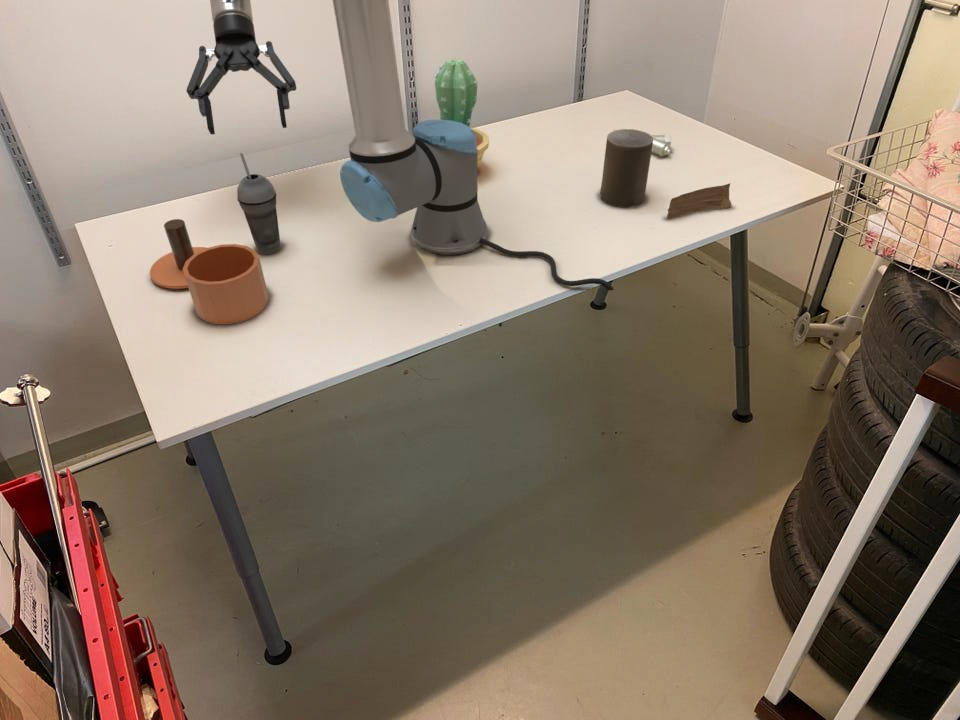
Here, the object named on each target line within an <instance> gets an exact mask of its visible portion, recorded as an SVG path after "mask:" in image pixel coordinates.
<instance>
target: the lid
mask: <svg viewBox="0 0 960 720" xmlns="http://www.w3.org/2000/svg"><path fill="white" fill-rule="evenodd" d="M163 227H164V231H165V234H166V236H167V240H168V242H169V246H170V249H171V252H168V253H167V254H164V255H163V256H160V257H159V258H158V259H157V260H156V261H154V262H153V264H152V265H151V267H150V269H149V276H150V279H151V281H152V282H153V283H155V285H157V286H160V287H162V288H167V289H175V290H176V289H180V290H181V289H189V288H188V285H187V282H186V279H185V276H184V273H183V267H184V264H185V262H186V261H187V260H188V259H189V258H190V257H191V256H193V255H194V254H195V253H197V252H199V251H202V250H204V249H206V248H207V247H204V246H193V245H192V241H191V239H190V235H189V233H188V229H187V226H186V222H185V221H184V219H180V218H175V219H171V220H167V221H166V222H165V223H163Z"/></svg>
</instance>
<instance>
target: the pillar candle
mask: <svg viewBox="0 0 960 720" xmlns="http://www.w3.org/2000/svg"><path fill="white" fill-rule="evenodd" d="M651 135H652V134H650V133H649V132H646V131H644V130H639V129H635V128H634V129H631V128H622V129H614V130H612V131H611V132H609V133H608V134H607V135H606V143H605V151H604V161H603V169H602V178H601V183H600V184H601V185H600V191H599V194H600V198H601V199H602V201H603V202H604V203H606V204H608V205H610V206H613V207H619V208H620V207H621V208H633V207H637V206H639V205H642V203H644V201H645V197H646V191H647V183H648V178H649V171H650V164H651V159H652V145H653V137H652V136H651Z"/></svg>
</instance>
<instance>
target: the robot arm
mask: <svg viewBox="0 0 960 720" xmlns="http://www.w3.org/2000/svg"><path fill="white" fill-rule="evenodd" d="M209 4H210V11H211V18H212V23H213V24H212V25H213V26H212V27H213V33H214V34H213V35H214V41H215V46H214V48H206V47H205V45H200V46H199V47H198V59H197V61H196V64H195V67H194V69H193V72H192V75H191V77H190V79H189V82H188V84H187V87H186V90H185V91H186V93H187V95H188V97H189V98H190V99H191V100H197V102H198V103H197V104H198V110H199V113H200V115H201V116H202V118H203V117H205V118H206V119H205V120H206V126H207V130H208V132H209V134H210V135H216V131H215V125H214V116H213V110H212V103H211V100H210V98H209V97H210V95H211V94H212V92H214V89H215V88H216V87H217V85H218V84H219V83H220V81H221V80H222V78H223V77H224V76H226V75H227V73H229V71H231V72H232V73H235V72H236V73H237V72H239V71H242V72H248V71H250V70H251V69H253V70H254V71H255V72H256V73H257V74H259V75H260V76H261V77H262V78H263V79H265V80H266V81H267V82H268V83H270V85H271V86H273V87H274V88H275V89H276V96H277V103H278V109H279V117H280V123H281V126H282V128H283V129H285V128H288V126H287V120H286V112H285V111H286V110H290V107H291V105H290V98H289V93H290V92H292V91H293V92H295V91H296V90H297V83H296V80H295V79H294V78H293V76H292V74H290V71H289V70H288V69H287V67H286V66H285V65H284V64H283V62H282V61H281V59H280V57H279V56H278V54H277V53H276V52H275V49H274V46H273V42H272V41H271V40H268V41H266V42H265V44H261V45H258V43H257V39H256V38H257V37H256V32H255V26H254V17H253V10H252V3H251V0H209ZM332 5H333V11H334V16H335V24H336V30H337V34H338V41H339V47H340V52H341V53H340V54H341V58H342V64H343V70H344V76H345V82H346V88H347V92H348V100H349V106H350V111H351V112H350V113H351V117H352V123H353V129H354V136H353V138H352V139H350V141H349V142H348V152H349V158H350V160H347V161H345V162H344V163H343V164H342V165H341V168H340V170H339V178H340V183H341V186H342V189H343V192H344V194H345V196H346V198H347V199H348V201H349V203H350V204H351V206H352V207H353V208H354V209H355V211H356V212H357V213H358V214H359V215H360V216H361V217H362V218H364V219H365V220H367V221H369V222H372V223H381V222H384V221H388V220H390V219H396V218H398V216H401V215H402V214H404V213H407V212H410V211H412V210H416V211H415V214H414V218H413V220H412V225H411V240H412V242H413V243H414V245H415V246H416V247H417V248H419V249H420V250H422V251H424V252H427V253H429V254H433V255H437V256H438V255H440V256H457V255H462V254H463V255H464V254H466V253H470V252H472V251H474V250H476V249H478V248H480V247H481V246H482V245H485V246H486V247H489V248H491V249H494V250H495V251H497V252H499V253H500V254H503V255H507V256H509V257H539V258H542V259H545V260H547V261H548V262H549V264H550V265H549V266H550V273H551V276H552V278H553V280H554V281H556V283H557V284H559V285H562V286H566V287H578V286H584V285H591V284H597V285H600V286H603V287H604V288H605V289H606V290H608V291H614V287H613V286H612V285H611V284H610V282H608V281H606V280H604V279H601V278H597V277H594V278H593V277H592V278H584V279H577V280H567V279H563V278H561V277H560V276H559V275H558V272H557V265H556V261H555V259H554V257H552V256H551V255H550V254H548V253H546V252H542V251H538V250H525V251H524V250H523V251H519V250H518V251H517V250H510V249H507V248H505V247H502V246H501V245H499V244H497V243H495V242H492V241H490V240H487V237H488V227H487V222H486V220H485V219H484V216H483V212H482V209H481V205H480V204H479V201H478V200H479V199H478V166H477V153H478V149H477V142H476V135H475V132H474V131H473V130H472V129H471V128H472V127H471V126H470V127H468V126H467V125H465V124H462V123H459V122H455V121H450V120H440V119H427V120H422V121H419V122H418V123H416V124H415V125H414V127H413V131H412V132H410V131H408V130H407V128H406V125H405V118H404V117H405V116H404V109H403V101H402V96H401V95H402V94H401V87H400V79H399V73H398V72H399V71H398V64H397V63H398V62H397V55H396V48H395V40H394V34H393V33H394V32H393V25H392V16H391V8H390V0H332ZM261 54H263V55H264V56H265V57H266V58H268V59H269V60H270V62H271V63H272V65H273V66H274V68H275V69H276V71H277V72H278V73H279V75H280V76H281V78H282V79H283V80H281V79H280V78H279V77H278V76H277V75H276V74H274V72H272V71H271V70H270V69H269V68H268V67H267V66H265V64H263V62H261V61H260V59H259V57H260V55H261ZM214 57H215V58H216V59H217V61H216V63H215V66H214V67H213V69H212V70H211V71H210V73H209V74H208V76H206V78H205V74H206V72H207V70H208V67H209V62H212V60H213V58H214ZM204 78H205V80H204ZM203 80H204V81H203Z"/></svg>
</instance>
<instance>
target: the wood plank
mask: <svg viewBox="0 0 960 720" xmlns="http://www.w3.org/2000/svg"><path fill="white" fill-rule="evenodd" d="M730 186H731V183H726V184H723V185H716V186H710V187H705V188H700V189H697V190H693V191H690V192H686V193H683V194H680V195H678V196H675V197H673V198H671V199H670V200H669V201H670V202H669V207H668V208H667V214H666V215H667V216H666V219H667V220H668V219H672V218H677V217H680V216H684V215H688V214H691V213H696V212H703V211H709V210H710V211H711V210H723V209H729V208H732V201H731V200H730Z"/></svg>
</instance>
